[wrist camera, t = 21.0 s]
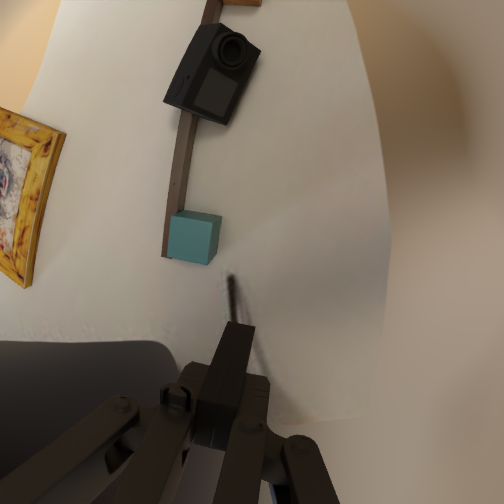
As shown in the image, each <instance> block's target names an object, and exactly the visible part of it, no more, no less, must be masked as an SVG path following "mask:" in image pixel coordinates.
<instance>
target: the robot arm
mask: <svg viewBox="0 0 504 504" xmlns="http://www.w3.org/2000/svg"><path fill="white" fill-rule="evenodd" d="M254 331H255V327H254V326H249V325H245V324H240V323H235V322H230V321H228V322H227V325H226V327H225V330H224V332H223V335H222V337H221V339H220V342H219V344H218V347H217V349H216V352H215V354H214V357H213V359H212V362H211V364H210V366H209V365H205V364H201V363H197V362H193V361H192V362H191V363H189V364H188V365H186V366H185V367H184V369H183V371H182V373H181V375H180V377H179V379H178V381H177V383H170V384H167V385H165V386H163V387H162V388H161V389H160V405H157V406H139V404H138V402H137V401H136V400H135V399H134V398H133V397H130V396H128V395H115V396H113V397H111V398H109V399H108V400H106V401H105V402H104V403H103V404H101V405H100V406H99V407H97V408H96V409H95V410H94V411H92V412H91V413H90V414H88V415H87V416H86V417H85V418H83V419H82V420H81V421H79V422H78V423H77V424H75V425H74V426H73V427H71V428H70V429H69V430H67V431H66V432H65V433H64V434H62V435H61V436H60V437H58V438H57V439H55V440H54V441H53V442H51V443H50V444H49V445H48V446H46V447H45V448H43V449H42V450H41V451H39V452H38V453H37V454H35V455H34V456H33V457H31V458H30V459H29V460H27V461H26V462H25V463H23V464H22V465H20V466H19V467H18V468H16V469H15V470H14V471H13V472H11V473H10V474H8V475H7V476H5V477H4V478H3V479H1V480H0V504H90V503H91V502H92V501H93V500H94V499H95V498H96V497H97V496H98V495H99V494H100V493H101V492H102V491H103V490H104V489H105V488H106V487H107V486H108V485H109V484H110V483H111V482H112V481H113V480H114V479H115V478H116V477H117V476H118V475H119V474H120V473H121V472H122V471H123V470H124V469H125V468H126V467H127V466H128V467H127V468H126V471H125V472H124V474H123V476H122V478H121V480H120V482H119V484H118V486H117V488H116V490H115V492H114V493H113V495H112V497H111V499H110V501H109V503H108V504H172V501H173V498H174V495H175V493H176V490H177V487H178V484H179V481H180V478H181V476H182V473H183V470H184V467H185V464H186V462H187V459H188V456H189V453H190V445H191V442H192V439H193V444H196V445H200V446H205V447H208V448H213V449H217V450H222V451H226V452H225V456H224V460H223V464H222V468H221V472H220V476H219V480H218V484H217V488H216V492H215V496H214V500H213V503H212V504H258V499H259V491H260V484H261V479H262V480H264V481H267V482H269V488H270V492H271V497H272V501H273V504H340V503H339V500H338V498H337V495H336V492H335V490H334V487H333V484H332V482H331V479H330V477H329V474H328V471H327V469H326V466H325V464H324V461H323V458H322V456H321V453H320V451H319V448H318V446H317V444H316V443H315V441H314V440H312V439H311V438H309V437H306V436H304V435H293V436H290V437H288V438H287V439H286V438H283V437H281V436H279V435H277V434H275V433H274V432H272V431H271V430H270V429H269V427H268V425H267V411H268V402H269V392H270V383H269V381H268V379H267V377H265V376H260V375H255V374H249V373H246V370H247V365H248V361H249V356H250V351H251V346H252V341H253V336H254Z"/></svg>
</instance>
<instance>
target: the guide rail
mask: <svg viewBox="0 0 504 504" xmlns="http://www.w3.org/2000/svg"><path fill="white" fill-rule="evenodd" d="M222 6H223V1H222V0H207V2H206V6H205V9H204V13H203V17H202V21H201V25H206V24H215V23H218V22H219V18H220V14H221V10H222ZM197 120H198V116H196V115H194V114H192V113H189V112H187V111H184V110H181V116H180V121H179V127H178V132H177V138H176V144H175V151H174V157H173V163H172V170H171V177H170V184H169V192H168V199H167V207H166V216H165V224H164V234H163V243H162V254H161V257H166V258H170V257H167V251H168V241H169V231H170V222H171V215H174V214H176V213H179V212H181V211H183V210H184V202H185V195H186V188H187V181H188V175H189V168H190V162H191V155H192V149H193V143H194V137H195V132H196V126H197ZM170 259H172V258H170Z"/></svg>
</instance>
